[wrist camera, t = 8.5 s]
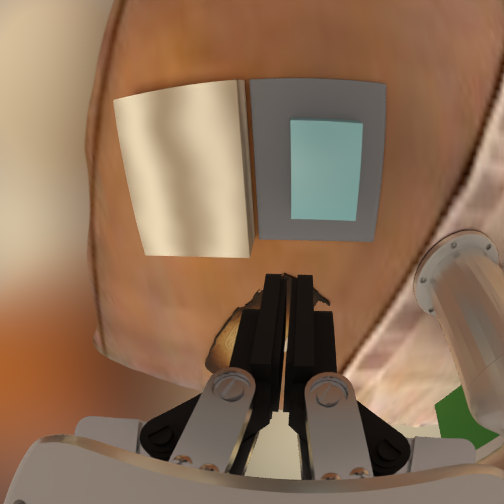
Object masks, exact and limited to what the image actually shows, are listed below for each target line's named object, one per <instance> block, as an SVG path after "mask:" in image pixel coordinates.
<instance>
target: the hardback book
mask: <svg viewBox="0 0 504 504" xmlns="http://www.w3.org/2000/svg"><path fill="white" fill-rule="evenodd" d="M435 409H436V414H437V419H438V423H439V429H440V434H441V438H458V439H466V440H469V441H470V442H471V443H472V444H473V445H474V447H475V451H476V462H477V461H478V460H480V459H482V458H484V457H486V456H488V455H489V454H491V453H492V452H493V451H495V450H496V449H498V448H499V447H501V446H502V445H503V443H504V438H503V437H502V436H501V435H499V434H498V433H495V432H493V431H490V430H488V429H486V428H484V427H482V426H481V425H479V424H478V423H477V422H476V421H475V419H474V418H473V417H472V415H471V413H470V410H469V408H468V404H467V400H466V397H465V394H464V391H463V387H462V385H461V386H459V387H458V388H457V389H456V390H454V391H453V392H452V393H450V394H449V395H448V396H446V397H445V398H444V399H442V400H441V401H439V402H438V403H437V404H435Z"/></svg>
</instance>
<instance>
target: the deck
mask: <svg viewBox="0 0 504 504" xmlns="http://www.w3.org/2000/svg"><path fill="white" fill-rule="evenodd" d="M113 102H114V110H115V117H116V123H117V129H118V136H119V141H120V147H121V153H122V158H123V163H124V168H125V173H126V178H127V183H128V187H129V192H130V196H131V201H132V205H133V209H134V213H135V218H136V222H137V226H138V229H139V233H140V237H141V241H142V245H143V248H144V252H145V255H158V256H194V257H234V258H250V255H251V251H252V247H253V243H254V239H255V228H254V213H253V197H252V182H251V167H250V152H249V137H248V122H247V107H246V93H245V80H227V81H217V82H208V83H200V84H192V85H186V86H179V87H173V88H167V89H162V90H156V91H151V92H146V93H142V94H137V95H133V96H128V97H124V98H120V99H116V100H113Z"/></svg>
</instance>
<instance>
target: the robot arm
mask: <svg viewBox="0 0 504 504" xmlns="http://www.w3.org/2000/svg"><path fill="white" fill-rule="evenodd" d="M414 294H415V297H416V300H417V302H418V304H419V306H420V307H421V309H422V310H423V311H424V312H426V313H427V314H429V315H432V316H436V317H437V318H438V321H439V323H440V326H441V328H442V331H443V333H444V336H445V338H446V341H447V344H448V346H449V349H450V352H451V354H452V357H453V360H454V363H455V366H456V369H457V372H458V375H459V378H460V381H461V384H462V387H463V391H464V394H465V397H466V400H467V404H468V408H469V410H470V413H471V415H472V417H473V418H474V419H475V421H476V422H477V423H478V424H479V425H481V426H482V427H484V428H486V429H488V430H490V431H493V432H495V433H498V434H499V435H501V436H502V437H503V438H504V272H503V270H502V269H501V268H500V266H499V255H498V251H497V248H496V247H495V245H494V243H493V242H492V241H491V240H490V239H489V238H488V237H487V236H486V235H484V234H483V233H480V232H477V231H469V230H468V231H462V232H458V233H455V234H452V235H450V236H449V237H447V238H445V239H443V240H442V241H441V242H439V243H438V244H437V245H435V246H434V247H433V248H432V249H431V251H430V252H429V253H428V254H427V255H426V257H425V258H424V259H423V261H422V262H421V264H420V266H419V268H418V270H417V273H416V276H415V281H414ZM286 307H287V278H281V274H266V277H265V283H264V289H263V294H262V300H261V306H260V309H248V308H244V309H243V311H242V315H241V319H240V323H239V327H238V331H237V335H236V340H235V344H234V348H233V352H232V356H231V360H230V364H229V368H224V369H221V370H219V371H217V372H215V373H214V374H213V375H212V376H211V377H210V379H209V380H208V382H207V384H206V386H205V388H204V390H203V392H202V393H201V394H199V395H197V396H196V397H194V398H192V399H190V400H188V401H186V402H184V403H182V404H181V405H179V406H177V407H175V408H173V409H171V410H169V411H167V412H165V413H163V414H161V415H159V416H157V417H155V418H153V419H151V420H150V421H148V422H141V421H140V420H139V419H121V418H108V417H97V416H88V417H86V418H83V419H82V420H81V421H80V422H79V423H78V424H77V427H76V429H75V434H74V435H64V434H63V435H62V434H61V435H50V436H45V437H42V438H40V439H39V440H37V441H36V442H34V443H33V445H32V446H31V447H30V448H29V450H28V451H27V453H26V454H25V456H24V457H23V459H22V461H21V463H20V465H19V467H18V469H17V471H16V473H15V476H14V478H13V480H12V482H11V485H10V487H9V490H8V493H7V496H6V499H5V501H4V504H504V443H503V445H502V446H501V447H499V448H498V449H496V450H495V451H493V452H492V453H491V454H489V455H488V456H486V457H484V458H482V459H480V460H478V461H477V462H476V451H475V447H474V445H473V444H472V443H471V442H470V441H469V440H466V439H458V438H431V437H417V436H416V437H414V438H405V437H404V436H403V435H402V434H401V433H400V432H398V431H397V430H396V429H394V428H393V427H391V426H390V425H389V424H387V423H386V422H385V421H383V420H382V419H381V418H379V417H378V416H377V415H375V414H374V413H373V412H371V411H370V410H369V409H368V408H366V407H365V406H364V405H362V404H361V403H360V402H358V401H357V400H356V396H355V392H354V389H353V386H352V384H351V382H350V381H349V380H348V379H347V378H346V377H344V376H342V375H341V374H338V373H337V366H336V350H335V336H334V323H333V313H332V311H314V303H313V276H312V275H298V279H292V281H291V298H290V314H289V328H288V341H287V354H286V368H285V389H284V407H283V412H289V426H290V427H291V428H292V429H293V430H294V431H295V432H296V433H298V434H297V437H298V447H299V457H300V467H301V468H300V469H301V480H287V479H271V478H270V479H269V478H259V477H249V476H244V475H245V472H246V470H247V467H248V464H249V461H250V458H251V455H252V453H253V450H254V447H255V444H256V441H257V438H258V435H259V431H260V430H261V429H262V428H263V427H265V426H267V425H268V424H269V423H270V419H272V411H275V412H278V410H279V401H280V391H281V381H282V371H283V360H284V349H285V337H286Z"/></svg>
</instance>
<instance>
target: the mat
mask: <svg viewBox="0 0 504 504" xmlns="http://www.w3.org/2000/svg"><path fill="white" fill-rule="evenodd" d="M249 81H250V96H251V111H252V126H253V142H254V158H255V175H256V192H257V209H258V226H259V239H269V240H321V241H363V242H373V241H374V235H375V228H376V221H377V214H378V206H379V198H380V189H381V179H382V169H383V157H384V142H385V122H386V84H382V83H373V82H364V81H353V80H338V79H316V78H274V79H251V80H249ZM291 118H325V119H343V120H357V121H359V122H361V123H363V132H362V152H361V168H360V180H359V192H358V202H357V212H356V221H345V220H315V219H291V127H290V119H291Z"/></svg>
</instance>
